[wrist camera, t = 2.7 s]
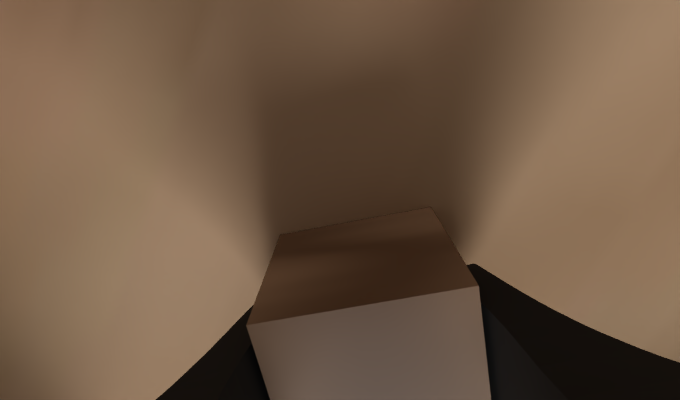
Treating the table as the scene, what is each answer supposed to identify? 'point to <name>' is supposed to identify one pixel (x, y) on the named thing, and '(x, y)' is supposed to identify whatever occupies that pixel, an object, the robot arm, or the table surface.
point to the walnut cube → (370, 314)
